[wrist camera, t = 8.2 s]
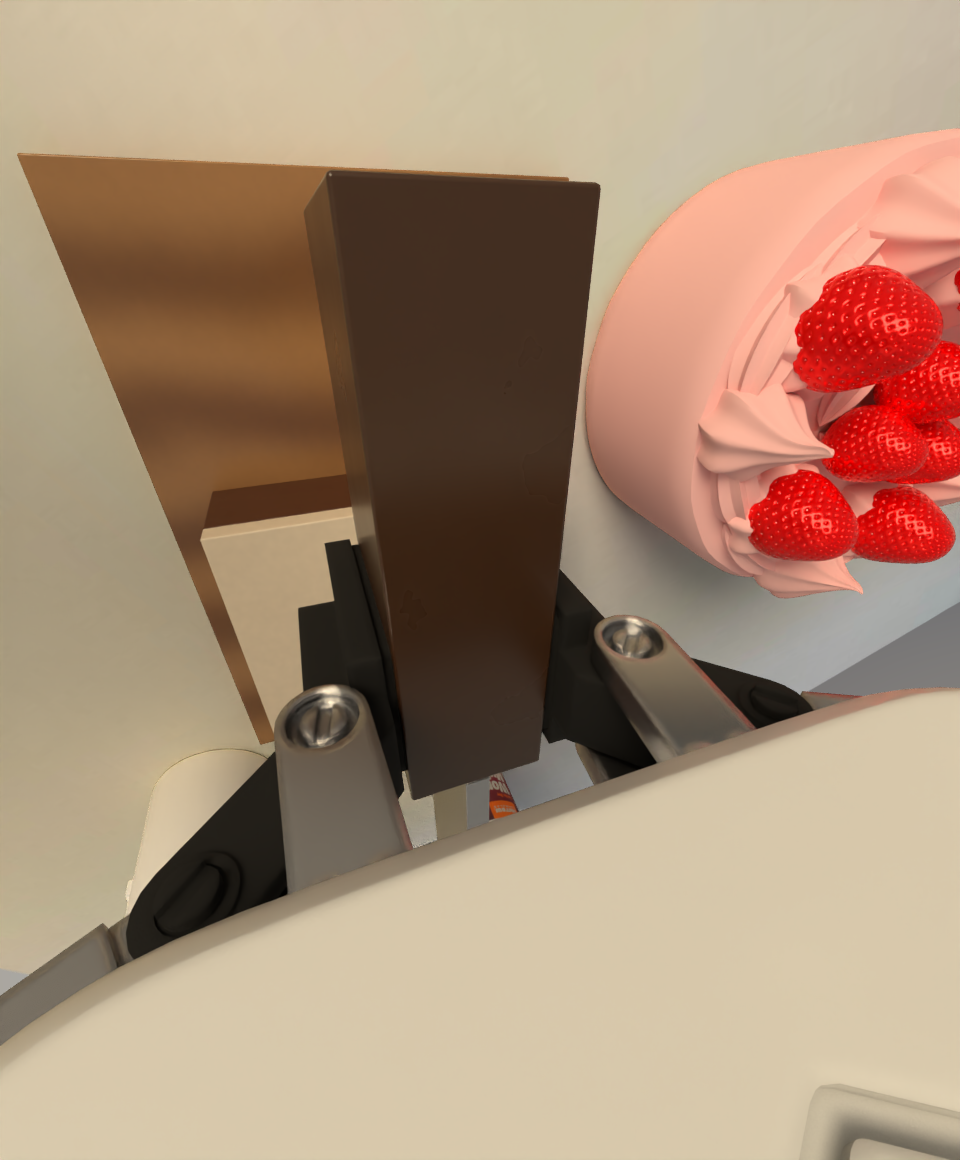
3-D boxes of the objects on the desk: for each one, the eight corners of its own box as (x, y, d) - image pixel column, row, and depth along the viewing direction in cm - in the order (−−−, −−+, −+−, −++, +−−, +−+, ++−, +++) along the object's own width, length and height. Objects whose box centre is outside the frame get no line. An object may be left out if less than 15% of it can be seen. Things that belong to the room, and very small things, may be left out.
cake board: (27, 157, 16) (15, 152, 15) (559, 180, 22) (569, 177, 21) (260, 733, 33) (260, 745, 32) (526, 663, 39) (531, 671, 38)
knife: (302, 208, 7) (325, 169, 4) (470, 213, 8) (603, 182, 5) (419, 920, 20) (445, 1040, 17) (477, 897, 21) (512, 1009, 18)
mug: (251, 851, 39) (246, 1036, 30) (119, 799, 32) (57, 1025, 23) (335, 796, 39) (355, 965, 30) (222, 731, 32) (201, 929, 22)
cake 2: (907, 224, 29) (1298, 206, 18) (750, 523, 39) (941, 630, 28) (657, 99, 21) (1074, -70, 10) (539, 511, 31) (688, 653, 20)
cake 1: (211, 490, 23) (199, 539, 19) (360, 471, 25) (377, 512, 21) (281, 695, 31) (283, 759, 27) (390, 668, 33) (406, 724, 29)
